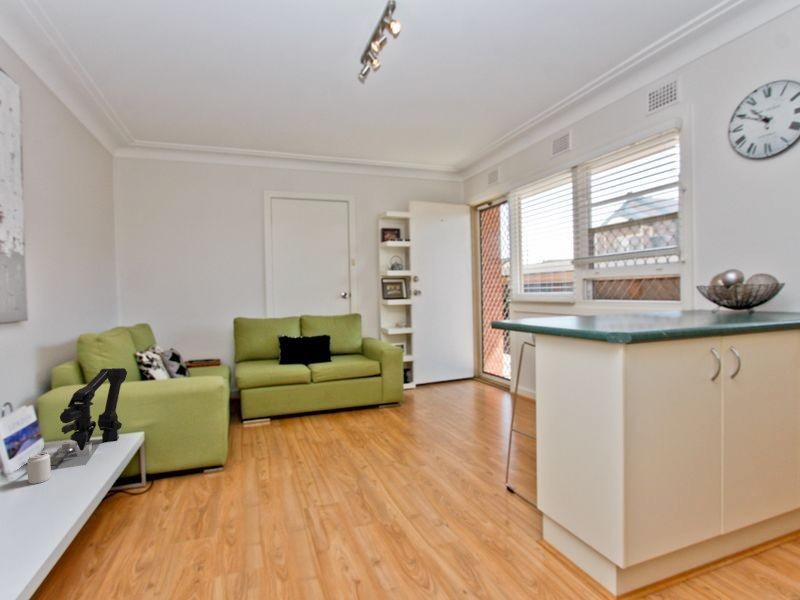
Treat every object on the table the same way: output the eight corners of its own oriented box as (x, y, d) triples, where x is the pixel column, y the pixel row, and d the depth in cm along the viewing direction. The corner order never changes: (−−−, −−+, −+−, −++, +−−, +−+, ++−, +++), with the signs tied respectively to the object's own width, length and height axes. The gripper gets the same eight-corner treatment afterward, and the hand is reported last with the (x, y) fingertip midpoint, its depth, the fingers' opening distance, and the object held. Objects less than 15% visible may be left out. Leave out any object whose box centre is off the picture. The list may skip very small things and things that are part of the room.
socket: (92, 450, 210) (91, 441, 209) (89, 454, 205) (88, 445, 205) (80, 452, 208) (79, 442, 207) (76, 456, 203) (76, 446, 203)
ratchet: (77, 448, 213) (76, 439, 212) (60, 468, 190) (60, 458, 190) (60, 450, 210) (59, 442, 210) (41, 471, 188) (41, 461, 187)
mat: (100, 443, 220) (100, 442, 220) (85, 465, 194) (85, 464, 194) (58, 449, 212) (58, 448, 212) (37, 472, 187) (37, 471, 187)
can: (55, 477, 183) (54, 451, 182) (39, 485, 175) (38, 458, 175) (40, 476, 184) (39, 450, 183) (23, 484, 176) (22, 457, 175)
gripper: (69, 412, 211) (70, 442, 211) (56, 424, 194) (57, 457, 194) (95, 409, 215) (96, 439, 216) (85, 421, 198) (86, 453, 199)
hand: (84, 446), depth 206 cm, fingers open, 9 cm apart
